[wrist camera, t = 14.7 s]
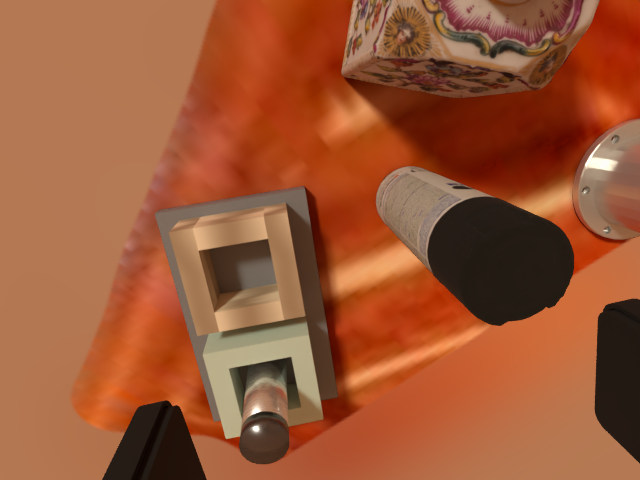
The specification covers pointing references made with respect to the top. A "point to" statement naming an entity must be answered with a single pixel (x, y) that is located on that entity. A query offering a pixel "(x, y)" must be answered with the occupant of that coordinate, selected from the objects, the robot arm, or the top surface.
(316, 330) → the base board
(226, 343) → the sage dock
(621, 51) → the top surface
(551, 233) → the spray can
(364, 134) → the top surface
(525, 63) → the decorative jar
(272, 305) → the maple mount
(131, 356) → the top surface
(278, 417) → the steel pin
